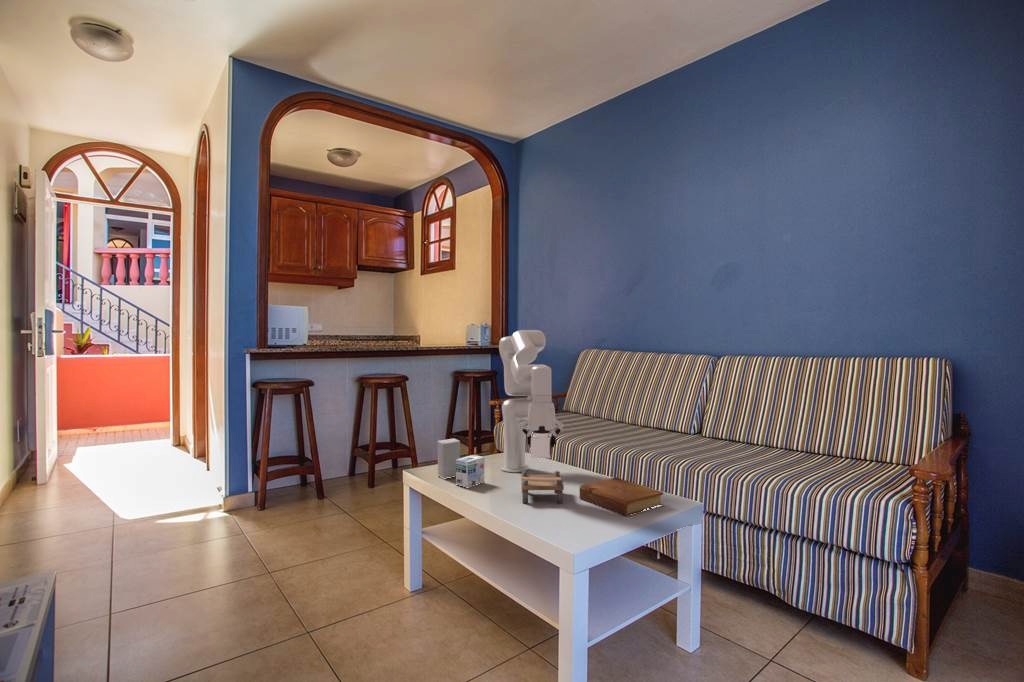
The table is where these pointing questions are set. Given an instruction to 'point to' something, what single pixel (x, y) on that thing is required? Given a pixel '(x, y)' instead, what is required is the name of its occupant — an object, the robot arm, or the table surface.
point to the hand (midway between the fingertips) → (541, 446)
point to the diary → (620, 495)
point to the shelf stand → (542, 484)
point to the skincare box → (448, 457)
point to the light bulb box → (469, 470)
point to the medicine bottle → (541, 443)
